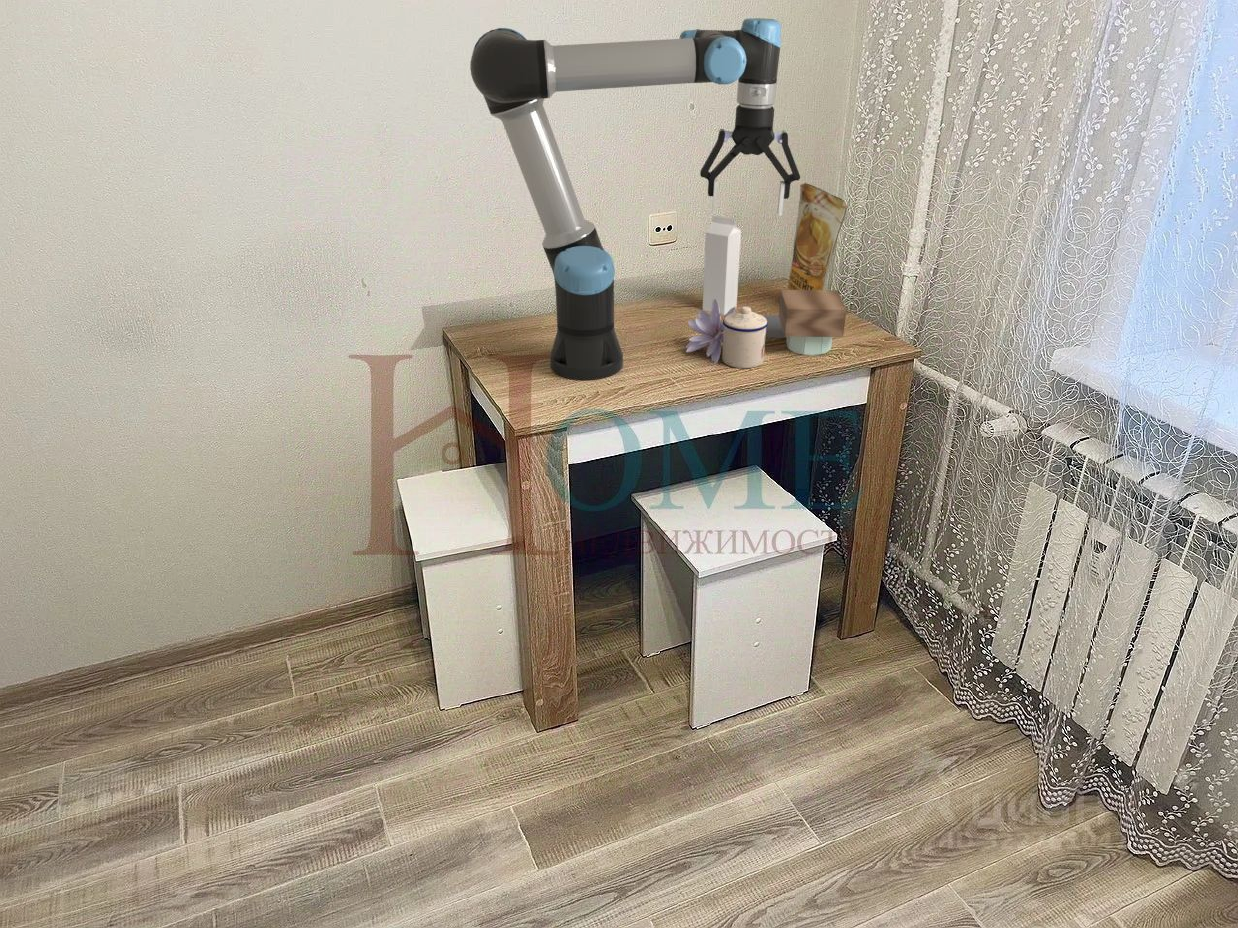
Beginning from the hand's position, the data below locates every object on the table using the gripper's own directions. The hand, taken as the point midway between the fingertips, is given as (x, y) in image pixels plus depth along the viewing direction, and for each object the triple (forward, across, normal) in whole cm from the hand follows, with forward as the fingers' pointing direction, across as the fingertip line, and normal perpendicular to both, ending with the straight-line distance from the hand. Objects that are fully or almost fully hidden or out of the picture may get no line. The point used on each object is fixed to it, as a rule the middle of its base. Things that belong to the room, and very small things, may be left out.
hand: (746, 213), depth 194 cm
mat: (+27, +7, +5) cm, 28 cm away
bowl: (+27, +15, -7) cm, 32 cm away
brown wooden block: (+22, +15, -7) cm, 27 cm away
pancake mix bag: (+27, +17, +16) cm, 36 cm away
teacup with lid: (+27, 0, -13) cm, 30 cm away
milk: (+27, -4, +16) cm, 32 cm away
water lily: (+27, -6, -11) cm, 30 cm away
